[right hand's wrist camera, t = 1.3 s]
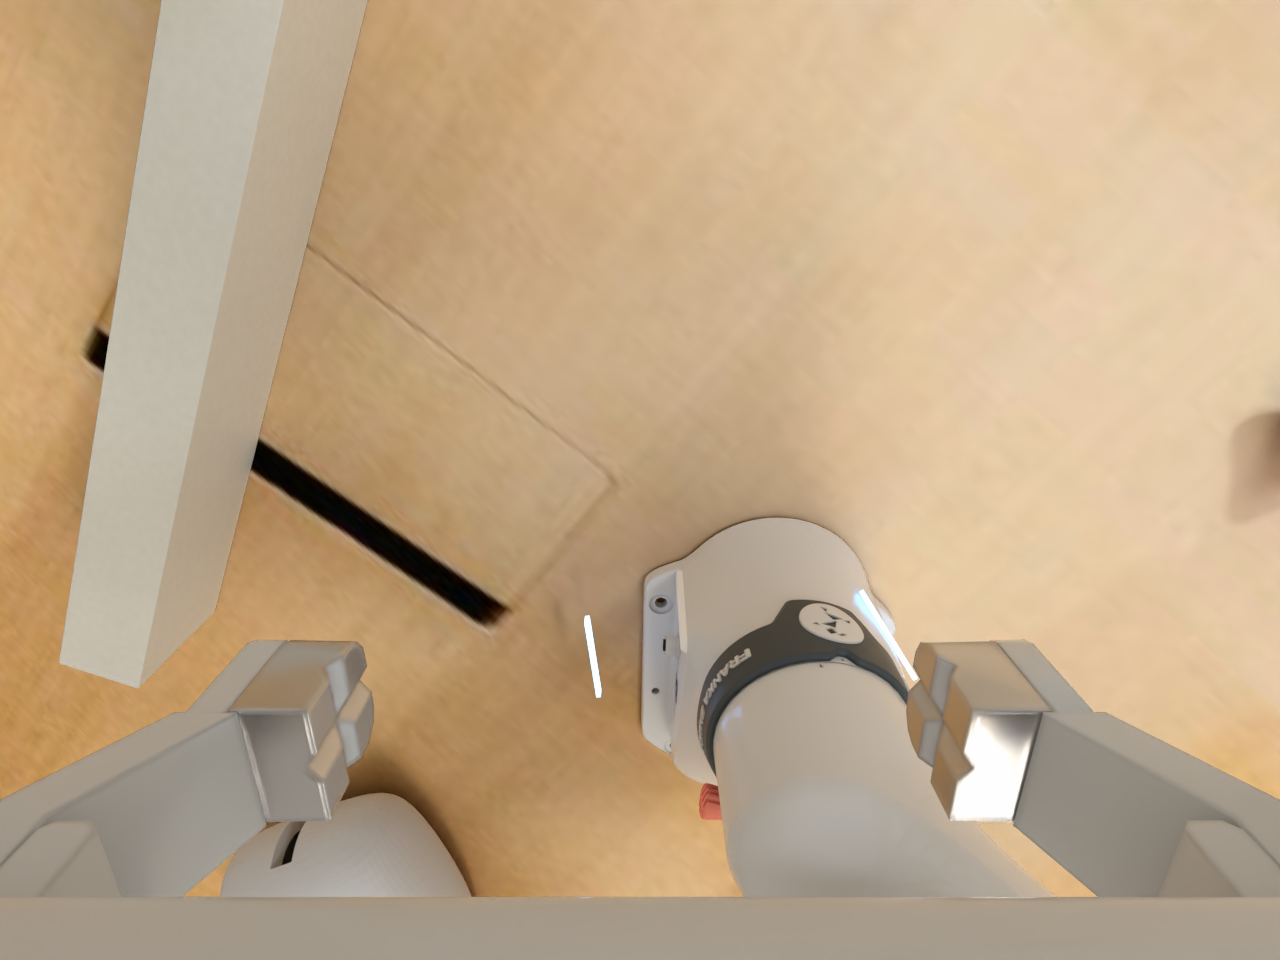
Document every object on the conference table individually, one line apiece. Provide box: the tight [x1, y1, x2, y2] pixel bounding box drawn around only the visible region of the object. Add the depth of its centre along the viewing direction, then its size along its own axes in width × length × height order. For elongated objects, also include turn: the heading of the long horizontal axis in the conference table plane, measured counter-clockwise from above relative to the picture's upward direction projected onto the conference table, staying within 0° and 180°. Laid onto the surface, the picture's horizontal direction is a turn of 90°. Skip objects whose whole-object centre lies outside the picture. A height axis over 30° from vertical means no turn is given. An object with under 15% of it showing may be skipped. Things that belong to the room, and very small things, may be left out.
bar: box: [59, 0, 368, 689], centre depth 38 cm, size 59×5×9 cm, turn 156°
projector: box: [220, 793, 472, 897], centre depth 56 cm, size 22×23×15 cm
